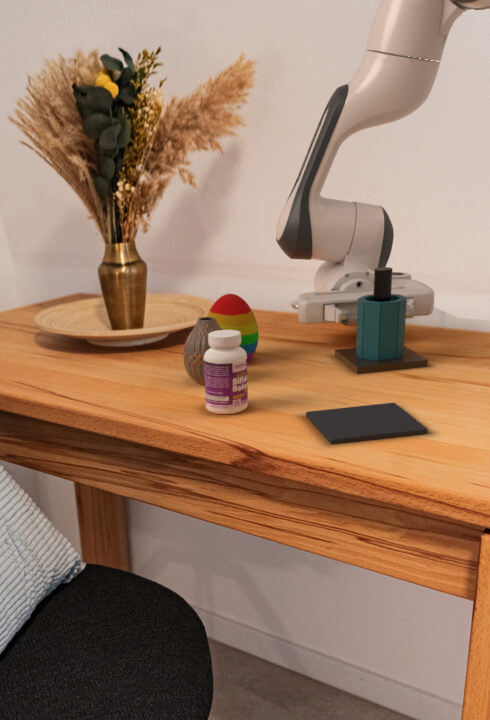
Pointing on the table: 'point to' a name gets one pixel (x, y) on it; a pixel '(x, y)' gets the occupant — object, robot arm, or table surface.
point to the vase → (198, 348)
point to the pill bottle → (225, 373)
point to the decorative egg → (237, 320)
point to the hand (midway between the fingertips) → (375, 315)
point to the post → (367, 366)
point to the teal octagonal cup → (380, 328)
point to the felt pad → (365, 423)
